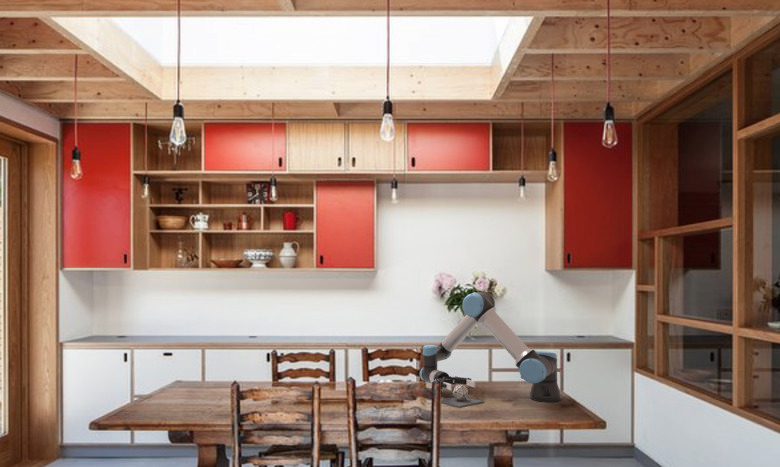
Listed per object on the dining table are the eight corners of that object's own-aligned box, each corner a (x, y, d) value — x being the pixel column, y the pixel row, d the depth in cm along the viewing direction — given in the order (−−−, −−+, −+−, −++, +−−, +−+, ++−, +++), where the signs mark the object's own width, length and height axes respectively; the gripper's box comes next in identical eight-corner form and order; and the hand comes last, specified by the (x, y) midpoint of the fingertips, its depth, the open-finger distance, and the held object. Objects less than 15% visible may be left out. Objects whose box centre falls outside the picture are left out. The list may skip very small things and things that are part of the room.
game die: (463, 408, 304) (468, 394, 298) (447, 401, 306) (451, 387, 300) (469, 396, 311) (473, 382, 305) (453, 389, 313) (457, 375, 307)
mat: (460, 397, 317) (460, 395, 317) (483, 402, 304) (483, 401, 304) (436, 401, 307) (436, 400, 307) (459, 407, 294) (459, 406, 294)
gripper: (460, 383, 328) (484, 391, 309) (418, 388, 316) (440, 396, 297) (460, 368, 328) (484, 375, 309) (418, 373, 317) (440, 380, 298)
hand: (463, 385), depth 303 cm, fingers open, 13 cm apart
